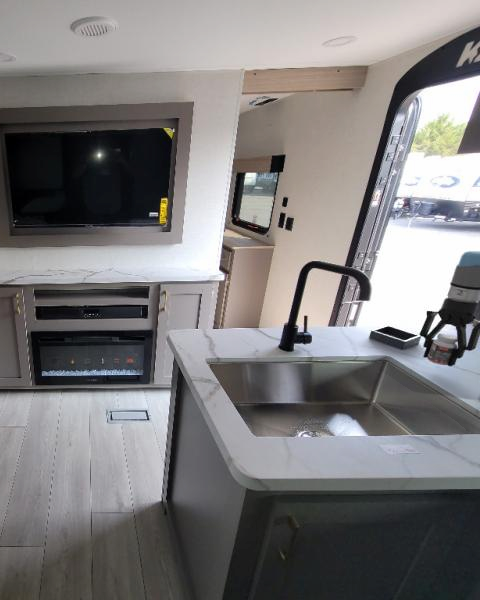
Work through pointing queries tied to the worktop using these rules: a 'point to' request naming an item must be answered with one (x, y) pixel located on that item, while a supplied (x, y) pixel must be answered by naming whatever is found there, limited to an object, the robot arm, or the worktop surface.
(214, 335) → the worktop surface
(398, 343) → the tray
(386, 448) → the worktop surface
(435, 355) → the pill bottle
